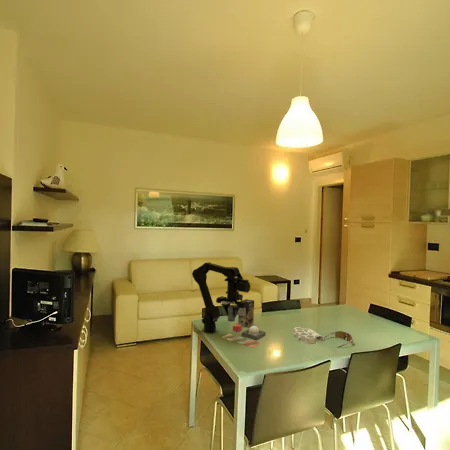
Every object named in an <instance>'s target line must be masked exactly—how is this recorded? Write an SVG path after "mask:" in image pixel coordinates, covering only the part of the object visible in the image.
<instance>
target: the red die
mask: <svg viewBox="0 0 450 450" xmlns="http://www.w3.org/2000/svg"><path fill="white" fill-rule="evenodd" d="M242 330H243V326H242V325H239V324H238V323H235V324H234V325H232V331H233V332H238V333H240V332H241V331H242Z"/></svg>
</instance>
